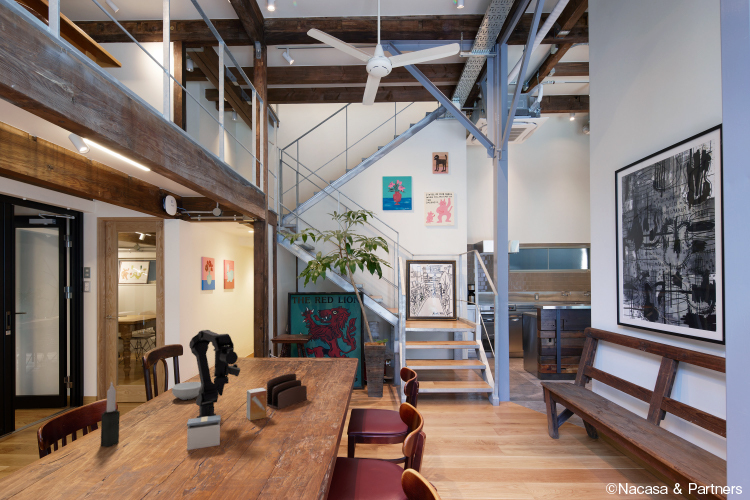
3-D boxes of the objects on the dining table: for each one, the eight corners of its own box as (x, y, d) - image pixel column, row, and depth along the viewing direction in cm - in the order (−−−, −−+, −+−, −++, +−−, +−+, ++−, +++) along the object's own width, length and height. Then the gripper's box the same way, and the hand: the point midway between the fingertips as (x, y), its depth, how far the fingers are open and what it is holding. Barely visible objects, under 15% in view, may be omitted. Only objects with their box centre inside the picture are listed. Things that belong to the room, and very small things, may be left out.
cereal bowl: (195, 402, 214) (195, 389, 215) (165, 402, 214) (165, 389, 215) (209, 393, 231) (209, 380, 232) (181, 393, 231) (181, 381, 232)
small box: (249, 421, 185) (250, 393, 186) (246, 417, 190) (246, 389, 191) (266, 417, 189) (267, 390, 190) (262, 413, 195) (262, 387, 196)
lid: (188, 421, 163) (188, 418, 163) (220, 416, 167) (220, 414, 167) (186, 426, 155) (186, 423, 155) (220, 421, 159) (220, 419, 160)
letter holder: (266, 406, 207) (266, 379, 208) (295, 396, 222) (295, 371, 223) (278, 409, 201) (278, 381, 202) (307, 399, 216) (307, 374, 217)
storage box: (188, 442, 162) (188, 422, 162) (219, 437, 166) (219, 418, 167) (187, 450, 154) (187, 429, 155) (219, 444, 159) (219, 424, 159)
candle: (120, 442, 162) (121, 381, 164) (108, 447, 158) (110, 384, 159) (111, 441, 164) (113, 380, 166) (99, 446, 159) (101, 383, 161)
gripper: (240, 363, 178) (240, 398, 177) (238, 356, 195) (238, 388, 194) (213, 366, 174) (213, 402, 173) (214, 358, 191) (214, 390, 190)
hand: (220, 395), depth 183 cm, fingers closed
